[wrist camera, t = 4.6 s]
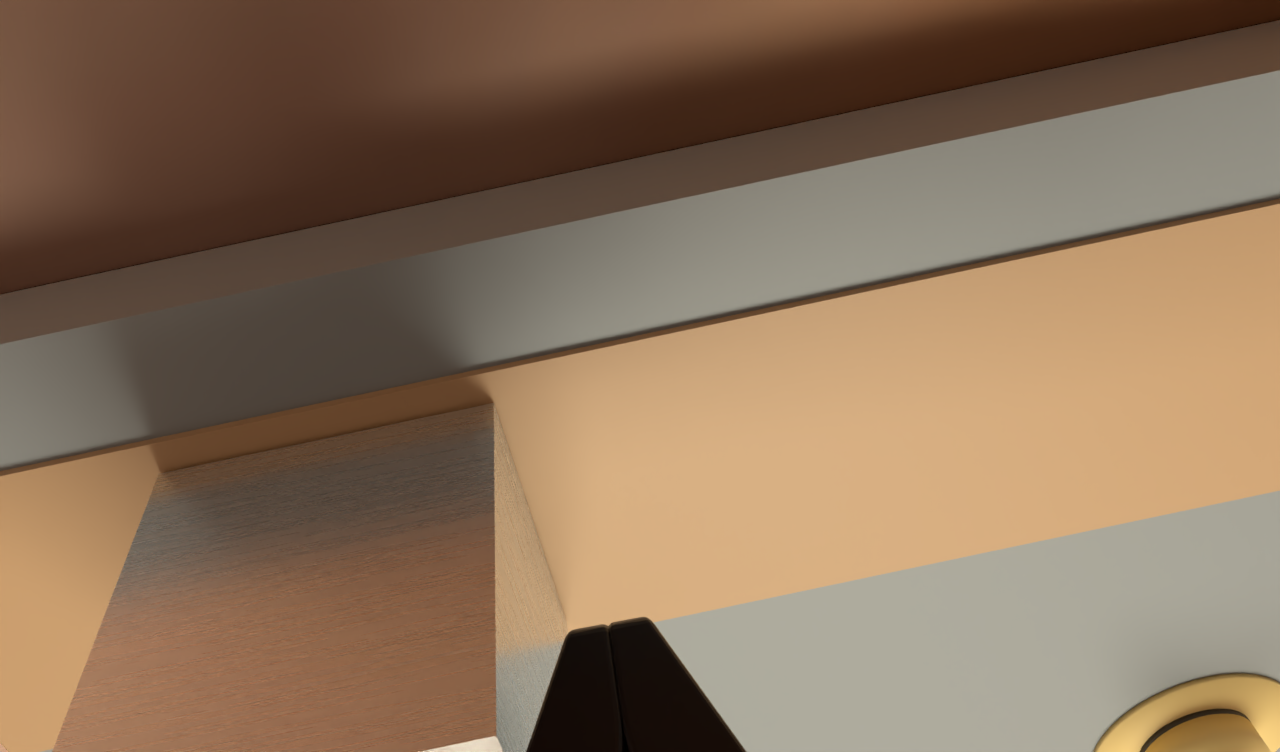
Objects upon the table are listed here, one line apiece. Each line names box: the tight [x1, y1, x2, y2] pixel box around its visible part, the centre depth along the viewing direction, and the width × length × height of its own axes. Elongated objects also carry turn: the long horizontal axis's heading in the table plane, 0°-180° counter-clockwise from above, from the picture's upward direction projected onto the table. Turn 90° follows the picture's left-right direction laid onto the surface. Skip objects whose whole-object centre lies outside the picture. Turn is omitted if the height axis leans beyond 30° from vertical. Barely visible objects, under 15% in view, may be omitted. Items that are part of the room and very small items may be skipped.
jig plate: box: [0, 20, 1280, 752], centre depth 14 cm, size 22×15×5 cm
